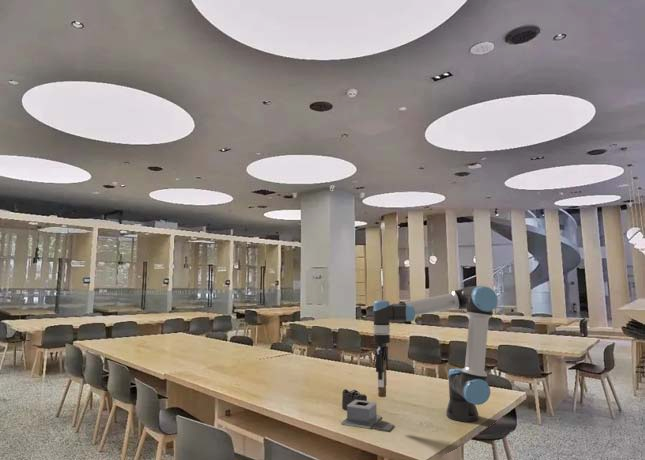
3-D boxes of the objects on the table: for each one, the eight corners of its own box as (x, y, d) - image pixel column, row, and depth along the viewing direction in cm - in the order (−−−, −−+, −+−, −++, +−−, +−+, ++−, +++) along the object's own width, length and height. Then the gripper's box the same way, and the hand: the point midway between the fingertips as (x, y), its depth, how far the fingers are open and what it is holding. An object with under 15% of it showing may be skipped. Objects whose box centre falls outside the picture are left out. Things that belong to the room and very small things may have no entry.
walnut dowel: (387, 395, 187) (386, 359, 189) (384, 397, 183) (384, 361, 186) (379, 394, 188) (379, 359, 190) (377, 396, 185) (377, 360, 187)
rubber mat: (394, 426, 186) (394, 424, 186) (389, 431, 178) (389, 430, 178) (377, 423, 189) (377, 422, 189) (372, 429, 182) (372, 427, 182)
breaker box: (381, 417, 198) (381, 400, 199) (370, 428, 182) (369, 410, 183) (354, 413, 204) (354, 397, 205) (341, 424, 188) (341, 406, 189)
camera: (374, 409, 211) (374, 390, 213) (363, 414, 203) (363, 394, 204) (351, 404, 220) (351, 385, 221) (340, 409, 211) (340, 389, 213)
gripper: (379, 331, 199) (379, 381, 195) (368, 335, 184) (368, 388, 180) (394, 332, 196) (394, 383, 192) (384, 336, 181) (385, 390, 177)
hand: (382, 385), depth 186 cm, fingers closed on walnut dowel, 3 cm apart
